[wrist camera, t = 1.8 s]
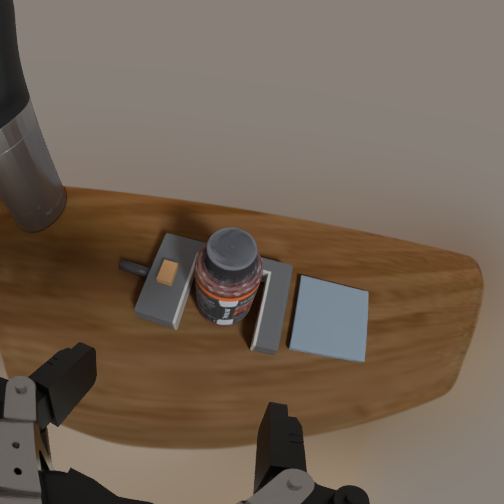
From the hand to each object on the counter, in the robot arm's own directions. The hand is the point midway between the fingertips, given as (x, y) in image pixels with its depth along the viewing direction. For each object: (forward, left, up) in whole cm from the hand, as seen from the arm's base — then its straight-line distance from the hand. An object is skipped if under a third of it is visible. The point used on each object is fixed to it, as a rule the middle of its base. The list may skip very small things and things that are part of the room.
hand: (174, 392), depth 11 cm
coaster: (+13, +13, -17) cm, 25 cm away
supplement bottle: (0, +12, -17) cm, 21 cm away
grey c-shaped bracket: (-3, +12, -17) cm, 21 cm away
